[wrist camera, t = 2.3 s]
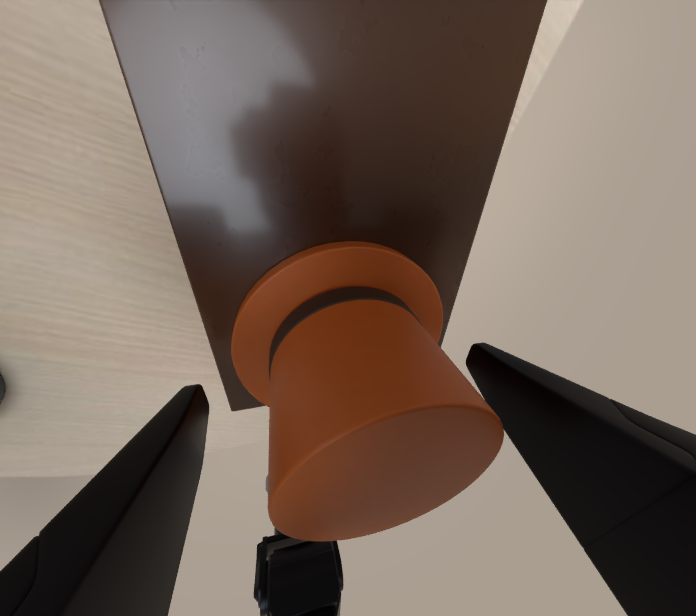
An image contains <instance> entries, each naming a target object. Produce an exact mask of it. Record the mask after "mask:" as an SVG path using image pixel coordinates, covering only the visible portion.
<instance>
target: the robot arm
mask: <svg viewBox="0 0 696 616" xmlns="http://www.w3.org/2000/svg"><path fill="white" fill-rule="evenodd" d="M466 366H467V368H468V370H469V372H470V374H471V376H472V377H473V379H474V381H475V383H476V385H477V387H478V388H479V390H480V392H481V394H482V396H483V398H484V399H485V401H486V403H487V404H488V405H489V406H490V407H491V409H492V410H493V411H494V412H495V413H496V415H497V416H498V417H499V418H500V420H501V423H502V426H503V429H504V430H505V432H506V433H507V435H508V436H509V438H510V439H511V441H512V442H513V444H514V445H515V447H516V448H517V450H518V451H519V453H520V454H521V456H522V457H523V459H524V460H525V462H526V463H527V465H528V466H529V468H530V469H531V471H532V472H533V474H534V475H535V477H536V478H537V480H538V481H539V483H540V484H541V486H542V487H543V489H544V490H545V492H546V493H547V495H548V496H549V498H550V499H551V501H552V502H553V504H554V505H555V507H556V508H557V510H558V511H559V513H560V514H561V516H562V517H563V519H564V520H565V522H566V523H567V525H568V526H569V528H570V529H571V531H572V532H573V534H574V535H575V537H576V538H577V540H578V541H579V543H580V544H581V546H582V547H583V548H584V551H585V552H586V554H587V555H588V557H589V558H590V560H591V561H592V563H593V564H594V566H595V567H596V569H597V570H598V572H599V573H600V575H601V576H602V578H603V579H604V581H605V582H606V584H607V585H608V587H609V588H610V590H611V591H612V593H613V594H614V596H615V597H616V599H617V600H618V602H619V603H620V605H621V606H622V608H623V609H624V611H625V612H626V614H627V615H628V616H696V435H695V434H692V433H690V432H688V431H685V430H682V429H680V428H678V427H675V426H672V425H670V424H668V423H665V422H663V421H661V420H658V419H656V418H653V417H651V416H648V415H646V414H644V413H642V412H639V411H637V410H635V409H632V408H630V407H628V406H625V405H623V404H621V403H619V402H616V401H614V400H612V399H609V398H607V397H605V396H603V395H601V394H598V393H596V392H594V391H592V390H589V389H587V388H585V387H583V386H580V385H578V384H576V383H574V382H571V381H569V380H567V379H565V378H563V377H560V376H558V375H556V374H554V373H551V372H549V371H547V370H545V369H543V368H540V367H538V366H536V365H533V364H531V363H529V362H527V361H524V360H522V359H520V358H518V357H515V356H513V355H511V354H509V353H507V352H504V351H502V350H500V349H497V348H495V347H493V346H491V345H489V344H486V343H476V344H473V345H472V346H471V349H470V351H469V354H468V356H467V359H466ZM208 416H209V403H208V400H207V397H206V395H205V392H204V390H203V387H202V386H201V385H200V384H196V385H190V386H185V387H183V388H182V389H181V390H180V391H179V392H178V393H177V394H176V395H175V396H174V397H173V398H172V399H171V400H170V401H169V402H168V403H167V404H166V405H165V406H164V407H163V408H162V409H161V410H160V411H159V412H158V413H157V414H156V415H155V416H154V417H153V418H152V419H151V420H150V421H149V422H148V423H147V424H146V425H145V426H144V427H143V428H142V429H141V430H140V431H139V432H138V433H137V434H136V435H135V436H134V437H133V438H132V439H131V440H130V441H129V442H128V443H127V444H126V445H125V446H124V447H123V448H122V449H121V450H120V451H119V452H118V453H117V454H116V455H115V456H114V457H113V459H112V460H111V461H110V462H109V463H108V464H107V465H106V466H105V467H104V468H103V469H102V470H101V471H100V472H99V473H98V474H97V475H96V476H95V477H94V478H93V479H92V480H91V481H90V482H89V483H88V484H87V485H86V486H85V487H84V488H83V489H82V490H81V491H80V492H79V493H78V494H77V495H76V496H75V497H74V498H73V499H72V500H71V501H70V502H69V503H68V504H67V505H66V506H65V507H64V508H63V509H62V510H61V511H60V512H59V513H58V514H57V515H56V516H55V517H54V518H53V519H52V520H51V521H50V522H49V523H48V524H47V525H46V526H45V527H44V528H43V529H42V530H41V531H40V533H39V536H36V537H34V538H33V539H32V540H31V541H30V542H29V543H28V544H27V545H26V546H25V547H24V548H23V549H22V550H21V551H20V552H19V553H18V554H17V555H16V556H15V557H14V558H13V559H12V561H10V562H9V564H7V565H6V566H5V567H4V568H3V569H2V570H1V571H0V616H168V612H169V607H170V603H171V599H172V594H173V590H174V586H175V581H176V577H177V573H178V569H179V564H180V560H181V555H182V551H183V547H184V543H185V539H186V534H187V530H188V526H189V522H190V517H191V513H192V509H193V504H194V500H195V496H196V492H197V487H198V483H199V479H200V474H201V469H202V465H203V457H204V450H205V441H206V433H207V424H208ZM342 590H343V573H342V564H341V558H340V553H339V549H338V544H337V541H307V540H300V539H296V538H292V537H289V536H287V535H285V534H283V533H281V532H280V531H278V530H277V529H276V528H275V535H273V536H269V537H267V536H266V537H263V541H262V542H261V543H259V544H258V545H257V560H256V573H255V584H254V598H255V599H256V601H257V602H258V605H259V608H260V616H266V615H267V616H340V603H341V591H342Z"/></svg>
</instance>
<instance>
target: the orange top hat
mask: <svg viewBox="0 0 696 616" xmlns="http://www.w3.org/2000/svg"><path fill="white" fill-rule="evenodd" d="M442 324H443V310H442V304H441V300H440V296H439V293H438V291H437V289H436V286H435V285H434V283H433V282H432V280H431V279H430V277H429V276H428V275H427V274H426V273H425V272H424V271H423V270H422V268H421V267H419V266H418V265H417V264H416V263H414V262H413V261H412V260H410V259H409V258H408V257H406V256H405V255H403V254H401V253H399V252H398V251H396V250H394V249H391V248H388V247H385V246H382V245H379V244H374V243H369V242H361V241H343V242H333V243H327V244H323V245H319V246H315V247H312V248H309V249H306V250H304V251H301V252H298V253H296V254H295V255H293V256H291V257H289V258H287V259H285V260H283V261H282V262H280V263H279V264H278V265H276V266H275V267H273V268H272V269H270V270H269V271H268V272H267V273H266V274H265V275H264V276H263V277H262V278H261V279H260V280H258V281H257V283H256V284H255V285H254V286H253V288H252V289H251V290H250V291H249V293H248V294H247V296H246V298H245V299H244V301H243V303H242V305H241V306H240V309H239V312H238V314H237V317H236V320H235V324H234V329H233V334H232V339H231V355H232V360H233V365H234V368H235V370H236V373H237V376H238V377H239V379H240V381H241V382H242V384H243V386H244V387H245V388H246V389H247V390H248V391H249V393H250V394H251V395H253V396H254V397H255V398H256V399H257V400H258V401H260V402H262V403H263V404H265V405H266V406H268V407H270V420H269V473H268V513H269V517H270V520H271V521H272V524H273V526H274V527H275V528H276V529H277V530H278V531H280V532H281V533H283V534H285V535H287V536H289V537H292V538H296V539H300V540H307V541H337V540H345V539H351V538H356V537H361V536H365V535H369V534H373V533H377V532H380V531H383V530H386V529H389V528H392V527H395V526H398V525H400V524H403V523H405V522H408V521H410V520H412V519H414V518H417V517H419V516H421V515H423V514H425V513H427V512H429V511H431V510H433V509H435V508H437V507H438V506H440V505H442V504H443V503H445V502H447V501H448V500H450V499H451V498H453V497H454V496H456V495H457V494H459V493H460V492H461V491H463V490H464V489H465V488H467V487H468V486H469V485H470V484H472V483H473V482H474V481H475V480H476V479H477V478H478V477H479V476H480V475H481V474H482V473H483V472H484V471H485V470H486V469H487V468H488V467H489V465H490V464H491V463H492V461H493V460H494V459H495V457H496V456H497V454H498V452H499V450H500V448H501V445H502V443H503V437H504V430H503V426H502V423H501V420H500V418H499V417H498V416H497V415H496V413H495V412H494V411H493V410H492V409H491V407H490V406H489V405H488V404H487V403H486V401H485V400H484V399H483V398H482V397H481V395H480V394H479V393H478V392H477V391H476V390H475V388H474V387H473V386H472V385H471V383H470V382H469V381H468V380H467V379H466V378H465V376H464V375H463V374H462V373H461V372H460V370H459V369H458V368H457V367H456V366H455V364H454V363H453V362H452V361H451V360H450V359H449V357H448V356H447V355H446V354H445V352H444V351H443V350H442V349H441V348H440V347H439V345H438V341H439V339H440V335H441V331H442Z"/></svg>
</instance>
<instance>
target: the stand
mask: <svg viewBox="0 0 696 616" xmlns="http://www.w3.org/2000/svg"><path fill="white" fill-rule="evenodd" d="M4 392H5V387H4V382H3V379H2V377H1V376H0V402H1V401H2V399H3V397H4Z"/></svg>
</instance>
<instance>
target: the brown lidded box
mask: <svg viewBox="0 0 696 616" xmlns="http://www.w3.org/2000/svg"><path fill="white" fill-rule="evenodd" d="M99 2H100V6H101V9H102V12H103V15H104V18H105V21H106V24H107V27H108V30H109V33H110V36H111V40H112V43H113V46H114V49H115V52H116V55H117V58H118V61H119V64H120V67H121V71H122V74H123V77H124V80H125V83H126V86H127V89H128V92H129V95H130V98H131V101H132V105H133V108H134V111H135V114H136V117H137V120H138V123H139V126H140V129H141V132H142V135H143V139H144V142H145V145H146V148H147V151H148V154H149V157H150V160H151V163H152V166H153V170H154V173H155V176H156V179H157V182H158V185H159V188H160V191H161V194H162V197H163V200H164V204H165V207H166V210H167V213H168V216H169V219H170V222H171V225H172V228H173V231H174V234H175V238H176V241H177V244H178V247H179V250H180V253H181V256H182V259H183V262H184V265H185V269H186V272H187V275H188V278H189V281H190V284H191V287H192V290H193V293H194V296H195V299H196V303H197V306H198V309H199V312H200V315H201V318H202V321H203V324H204V327H205V330H206V333H207V337H208V340H209V343H210V346H211V349H212V352H213V355H214V358H215V361H216V364H217V368H218V371H219V374H220V377H221V380H222V383H223V386H224V389H225V392H226V395H227V398H228V402H229V405H230V408H231V411H238V410H244V409H250V408H255V407H261V406H266V405H265V404H263V403H262V402H260V401H258V400H257V399H256V398H255V397H254V396H253V395H251V394H250V393H249V391H248V390H247V389H246V388H245V387H244V386H243V384H242V382H241V381H240V379H239V377H238V376H237V373H236V370H235V368H234V365H233V360H232V355H231V339H232V334H233V329H234V324H235V320H236V317H237V314H238V312H239V309H240V306H241V305H242V303H243V301H244V299H245V298H246V296H247V294H248V293H249V291H250V290H251V289H252V288H253V286H254V285H255V284H256V283H257V281H258V280H260V279H261V278H262V277H263V276H264V275H265V274H266V273H267V272H268V271H269V270H270V269H272V268H273V267H275V266H276V265H278V264H279V263H280V262H282V261H283V260H285V259H287V258H289V257H291V256H293V255H295V254H296V253H298V252H301V251H304V250H306V249H309V248H312V247H315V246H319V245H323V244H327V243H333V242H343V241H361V242H369V243H374V244H379V245H382V246H385V247H388V248H391V249H394V250H396V251H398V252H399V253H401V254H403V255H405V256H406V257H408V258H409V259H410V260H412V261H413V262H414V263H416V264H417V265H418V266H419V267H421V268H422V270H423V271H424V272H425V273H426V274H427V275H428V276H429V277H430V279H431V280H432V282H433V283H434V285H435V286H436V289H437V291H438V293H439V296H440V300H441V304H442V310H443V324H442V331H441V335H440V339H439V341H438V345H439V347H440V348H441V345H442V342H443V338H444V335H445V332H446V329H447V325H448V322H449V319H450V316H451V312H452V309H453V306H454V302H455V299H456V296H457V293H458V290H459V286H460V283H461V280H462V276H463V273H464V270H465V266H466V263H467V260H468V257H469V253H470V250H471V247H472V243H473V240H474V237H475V234H476V231H477V228H478V224H479V221H480V218H481V215H482V211H483V208H484V205H485V201H486V198H487V195H488V191H489V188H490V185H491V182H492V179H493V175H494V172H495V169H496V166H497V162H498V159H499V156H500V153H501V149H502V146H503V143H504V140H505V136H506V133H507V130H508V127H509V123H510V120H511V117H512V113H513V110H514V107H515V104H516V100H517V97H518V94H519V91H520V87H521V84H522V81H523V78H524V74H525V71H526V68H527V65H528V61H529V58H530V55H531V52H532V48H533V45H534V42H535V39H536V35H537V32H538V29H539V25H540V22H541V19H542V16H543V12H544V9H545V6H546V3H547V0H99Z"/></svg>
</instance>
